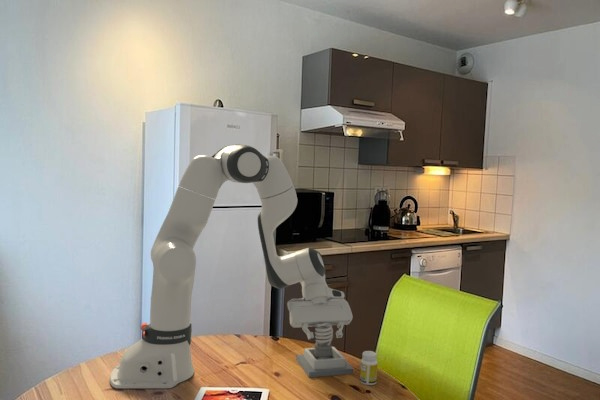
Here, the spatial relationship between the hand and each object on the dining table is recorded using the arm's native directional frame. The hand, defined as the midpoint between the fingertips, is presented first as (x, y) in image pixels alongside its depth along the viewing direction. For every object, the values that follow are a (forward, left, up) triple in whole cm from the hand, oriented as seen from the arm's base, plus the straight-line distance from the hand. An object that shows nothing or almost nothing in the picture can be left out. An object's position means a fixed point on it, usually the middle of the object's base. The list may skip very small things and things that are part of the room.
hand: (325, 338), depth 139 cm
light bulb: (0, 0, -8) cm, 8 cm away
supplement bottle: (+9, -12, -9) cm, 18 cm away
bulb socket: (0, 0, -9) cm, 9 cm away
